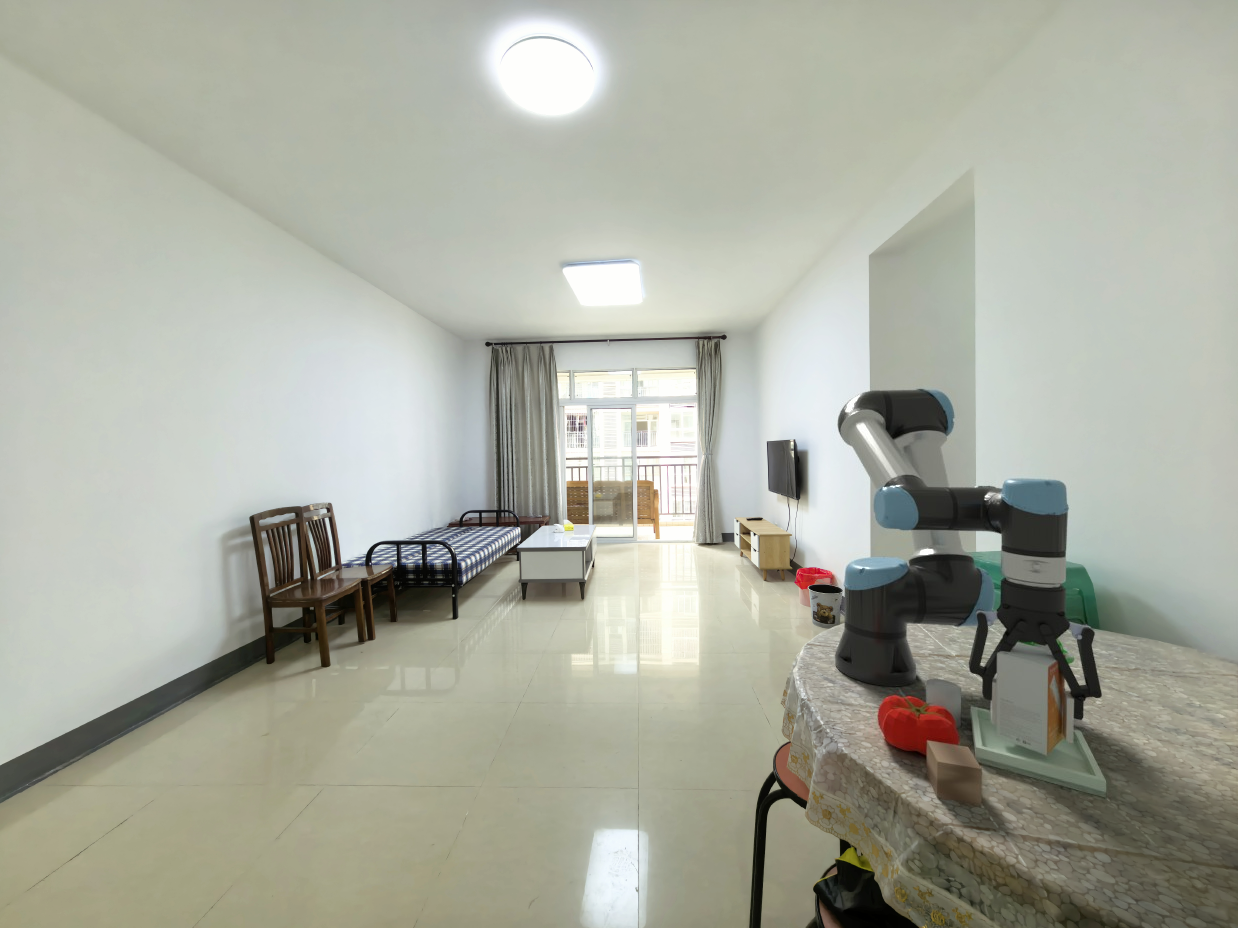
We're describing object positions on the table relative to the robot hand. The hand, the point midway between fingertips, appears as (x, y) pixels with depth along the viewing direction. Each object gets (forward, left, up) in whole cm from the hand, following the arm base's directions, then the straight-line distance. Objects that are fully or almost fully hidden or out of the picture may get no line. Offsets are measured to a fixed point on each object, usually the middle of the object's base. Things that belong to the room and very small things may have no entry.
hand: (1029, 728), depth 74 cm
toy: (+3, +15, -4) cm, 16 cm away
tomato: (-14, -7, -4) cm, 17 cm away
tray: (0, 0, -4) cm, 4 cm away
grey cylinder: (-11, +4, -4) cm, 12 cm away
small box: (0, 0, -2) cm, 2 cm away
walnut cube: (-10, -16, -4) cm, 19 cm away
